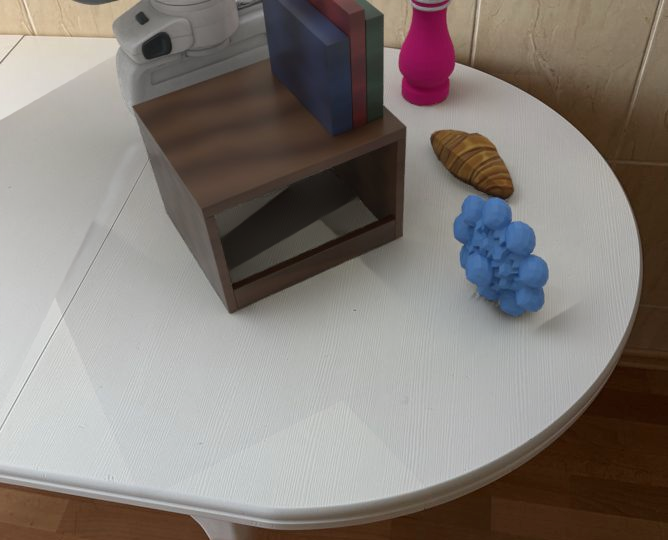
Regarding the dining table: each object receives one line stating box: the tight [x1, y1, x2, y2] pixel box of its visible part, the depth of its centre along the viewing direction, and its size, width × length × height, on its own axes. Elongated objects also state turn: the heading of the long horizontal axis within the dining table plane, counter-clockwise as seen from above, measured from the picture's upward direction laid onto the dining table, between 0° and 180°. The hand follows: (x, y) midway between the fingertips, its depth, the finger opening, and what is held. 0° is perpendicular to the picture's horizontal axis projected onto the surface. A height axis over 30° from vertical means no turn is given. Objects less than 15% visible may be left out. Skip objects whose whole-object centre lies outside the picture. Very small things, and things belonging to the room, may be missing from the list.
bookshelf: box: [132, 0, 408, 314], centre depth 69 cm, size 18×21×25 cm
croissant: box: [429, 129, 515, 201], centre depth 81 cm, size 14×7×5 cm, turn 34°
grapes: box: [452, 194, 550, 317], centre depth 66 cm, size 12×7×12 cm, turn 38°
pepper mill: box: [397, 0, 456, 107], centre depth 85 cm, size 7×7×20 cm
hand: (220, 122), depth 86 cm, fingers closed
